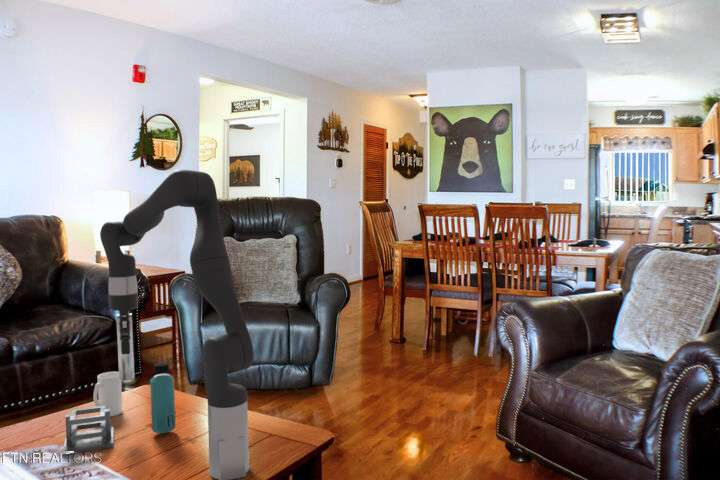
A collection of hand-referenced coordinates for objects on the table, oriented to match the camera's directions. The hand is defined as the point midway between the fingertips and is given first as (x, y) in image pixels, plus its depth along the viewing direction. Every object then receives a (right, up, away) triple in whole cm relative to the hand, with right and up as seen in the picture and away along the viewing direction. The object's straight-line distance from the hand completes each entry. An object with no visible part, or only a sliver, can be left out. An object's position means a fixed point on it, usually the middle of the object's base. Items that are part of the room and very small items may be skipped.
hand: (125, 351), depth 165 cm
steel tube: (0, -8, +1) cm, 8 cm away
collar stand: (-7, -23, -8) cm, 25 cm away
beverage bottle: (+12, -23, -2) cm, 26 cm away
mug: (-11, -22, +12) cm, 27 cm away
